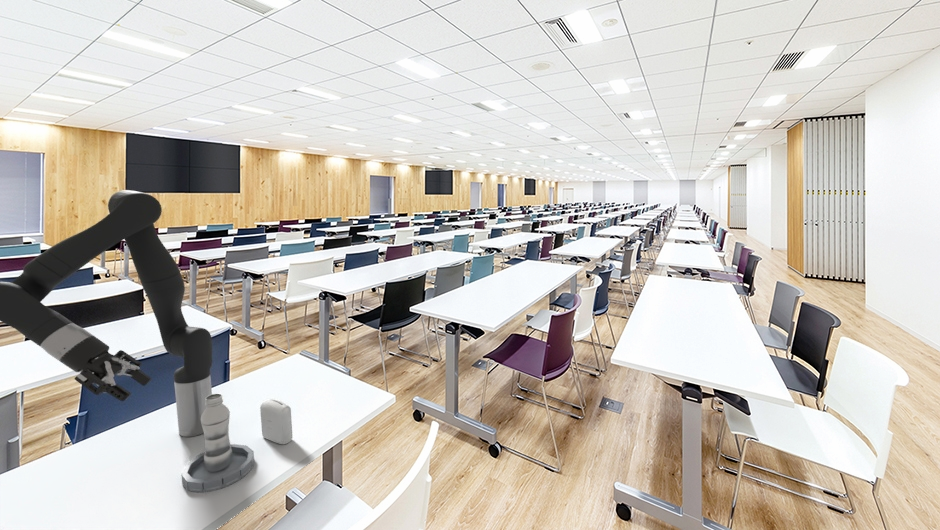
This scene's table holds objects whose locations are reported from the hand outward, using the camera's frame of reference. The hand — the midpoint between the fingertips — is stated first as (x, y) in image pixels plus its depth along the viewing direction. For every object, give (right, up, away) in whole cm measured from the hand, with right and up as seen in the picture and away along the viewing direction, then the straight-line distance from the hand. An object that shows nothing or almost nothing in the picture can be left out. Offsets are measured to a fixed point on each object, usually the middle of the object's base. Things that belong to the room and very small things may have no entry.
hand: (138, 389), depth 94 cm
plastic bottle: (+13, -24, +10) cm, 29 cm away
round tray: (+14, -25, +10) cm, 30 cm away
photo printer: (+22, -23, +25) cm, 40 cm away
